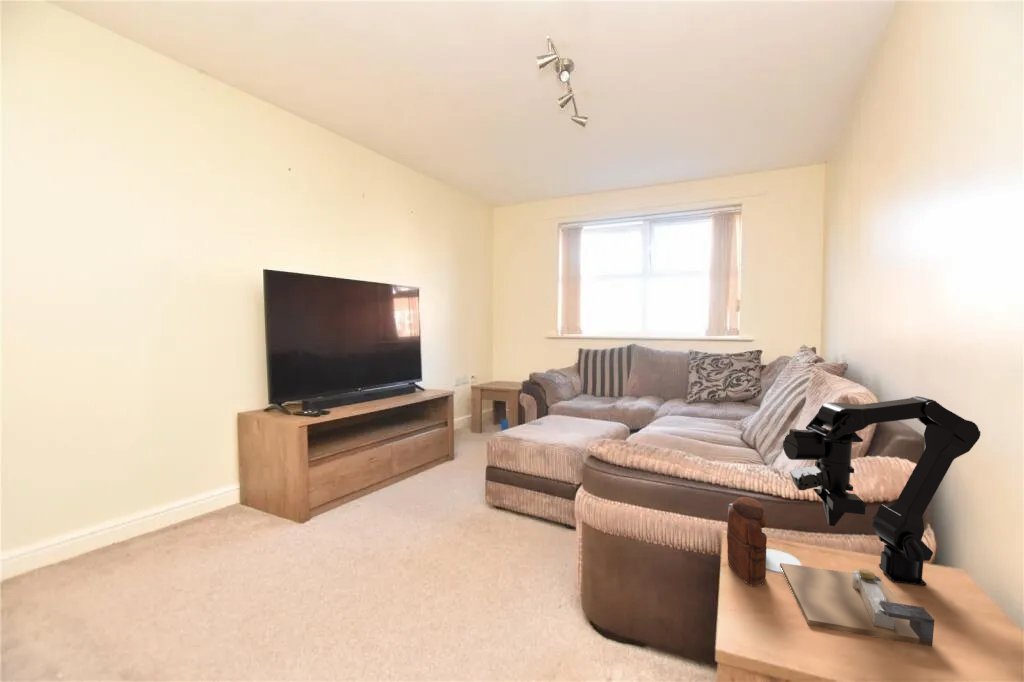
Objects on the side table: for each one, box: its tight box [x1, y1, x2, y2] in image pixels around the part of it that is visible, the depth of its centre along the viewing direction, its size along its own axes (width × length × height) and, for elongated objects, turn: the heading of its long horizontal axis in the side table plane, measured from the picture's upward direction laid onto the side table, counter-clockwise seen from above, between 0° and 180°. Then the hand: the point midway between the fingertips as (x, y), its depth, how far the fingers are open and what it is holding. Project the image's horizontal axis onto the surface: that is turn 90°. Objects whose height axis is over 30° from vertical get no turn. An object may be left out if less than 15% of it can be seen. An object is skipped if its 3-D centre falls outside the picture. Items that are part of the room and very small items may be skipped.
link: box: [852, 569, 894, 630], centre depth 93 cm, size 15×5×3 cm, turn 154°
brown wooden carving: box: [726, 496, 768, 587], centre depth 106 cm, size 12×6×18 cm, turn 4°
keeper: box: [880, 601, 935, 648], centre depth 86 cm, size 7×4×5 cm, turn 73°
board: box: [779, 562, 934, 648], centre depth 96 cm, size 20×20×5 cm
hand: (831, 525), depth 104 cm, fingers closed
